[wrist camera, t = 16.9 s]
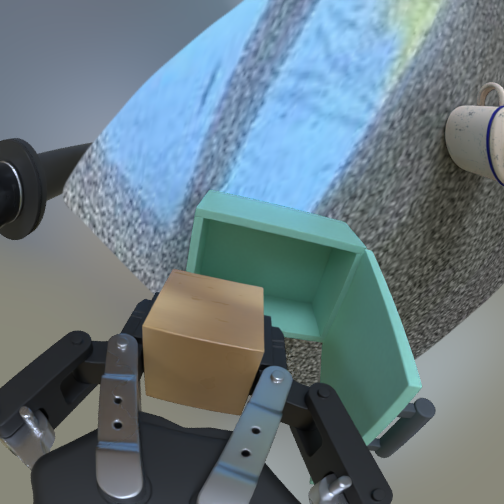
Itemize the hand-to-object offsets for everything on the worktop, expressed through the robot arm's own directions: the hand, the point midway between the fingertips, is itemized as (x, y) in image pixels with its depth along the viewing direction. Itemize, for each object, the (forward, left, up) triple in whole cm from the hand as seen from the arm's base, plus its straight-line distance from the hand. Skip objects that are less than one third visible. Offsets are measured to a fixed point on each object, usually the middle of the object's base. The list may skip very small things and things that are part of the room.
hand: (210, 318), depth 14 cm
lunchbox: (+5, -4, -19) cm, 19 cm away
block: (0, 0, 0) cm, 0 cm away
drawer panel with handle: (+10, -4, -3) cm, 11 cm away
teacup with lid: (+26, +19, -19) cm, 37 cm away
